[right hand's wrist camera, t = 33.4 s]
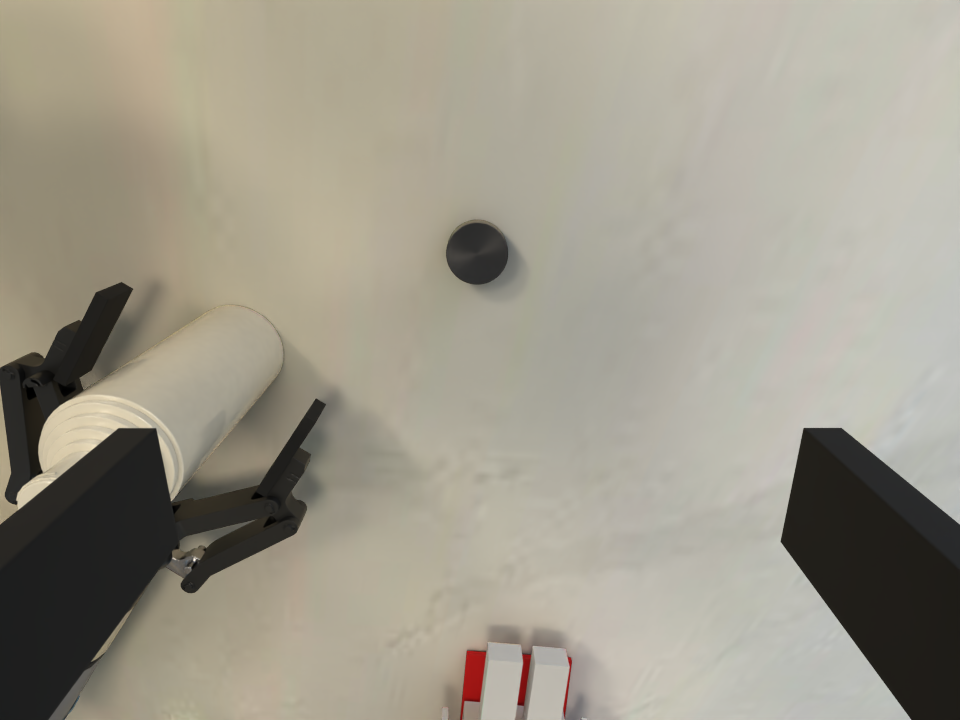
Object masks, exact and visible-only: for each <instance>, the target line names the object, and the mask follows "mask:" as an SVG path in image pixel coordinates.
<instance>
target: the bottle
mask: <svg viewBox="0 0 960 720" xmlns="http://www.w3.org/2000/svg"><path fill="white" fill-rule="evenodd" d="M283 359H284V352H283V345H282V342H281V339H280V337H279V335H278V333H277V331H276V329H275V328H274V327H273V325H272V324H271V323H270V322H269V321H268V320H267V319H266V318H265V317H263V316H262V315H260V314H259V313H257V312H255V311H253V310H251V309H249V308H246V307H242V306H236V305H225V306H219V307H216V308H213V309H211V310H209V311H207V312H206V313H204V314H203V315H201V316H199V317H198V318H196V319H195V320H193V321H192V322H190V323H189V324H187V325H185V326H184V327H182V328H181V329H179V330H178V331H176V332H174V333H173V334H171V335H170V336H168V337H167V338H165V339H163V340H162V341H160V342H159V343H157V344H156V345H154V346H152V347H151V348H149V349H148V350H146V351H145V352H143V353H142V354H140V355H138V356H137V357H135V358H134V359H132V360H131V361H129V362H127V363H126V364H124V365H123V366H121V367H120V368H118V369H116V370H115V371H113V372H112V373H110V374H109V375H107V376H105V377H104V378H102V379H101V380H99V381H98V382H96V383H95V384H93V385H91V386H90V387H88V388H87V389H85V390H84V391H82V392H80V393H79V394H77V395H76V396H74V397H73V398H71V399H69V400H68V401H66V402H65V403H63V404H62V405H60V406H59V407H58V408H57V409H55V410H54V411H53V412H52V414H51V415H50V416H49V417H48V419H47V421H46V422H45V424H44V427H43V429H42V432H41V437H40V440H39V447H38V454H39V461H40V465H41V469H42V471H43V474H40V475H37V476H36V477H35V478H33V479H32V480H30V481H29V482H28V483H27V484H25V485H24V486H23V487H22V488H21V490H20V491H19V492H18V494H17V499H16V501H18V502H17V507H18V510H19V509H20V508H21V507H23V506H24V505H25V504H26V503H27V502H29V501H30V500H31V499H32V498H34V497H35V496H36V495H37V494H38V493H40V492H41V491H42V490H43V489H45V488H46V487H47V486H48V485H49V484H51V483H52V482H53V481H54V480H56V479H57V478H58V477H59V476H60V475H62V474H63V473H64V472H65V471H67V470H68V469H69V468H70V467H72V466H73V465H74V464H75V463H76V462H78V461H79V460H80V459H81V458H83V457H84V456H85V455H86V454H87V453H89V452H90V451H91V450H92V449H94V448H95V447H96V446H97V445H98V444H100V443H101V442H102V441H103V440H105V439H106V438H107V437H108V436H109V435H111V434H112V433H113V432H114V431H116V430H117V429H118V428H156V429H157V434H158V439H159V444H160V449H161V454H162V459H163V464H164V468H165V473H166V478H167V483H168V488H169V493H170V498H171V502H172V500H173V499H174V498H175V497H176V496H177V495H178V494H179V492H180V491H181V490H182V489H183V488H184V486H185V485H186V484H187V483H188V482H189V481H190V479H191V478H192V477H193V476H194V475H195V473H196V472H197V471H198V470H199V469H200V467H201V466H202V465H203V464H204V463H205V462H206V460H207V459H208V458H209V457H210V456H211V454H212V453H213V452H214V451H215V450H216V449H217V447H218V446H219V445H220V444H221V443H222V441H223V440H224V439H225V438H226V437H227V435H228V434H229V433H230V432H231V431H232V430H233V428H234V427H235V426H236V425H237V424H238V422H239V421H240V420H241V419H242V418H243V417H244V415H245V414H246V413H247V412H248V411H249V409H250V408H251V407H252V406H253V405H254V403H255V402H256V401H257V400H258V399H259V398H260V396H261V395H262V394H263V393H264V392H265V390H266V389H267V388H268V387H269V386H270V385H271V383H272V382H273V381H274V380H275V379H276V377H277V376H278V374H279V372H280V370H281V368H282V365H283Z"/></svg>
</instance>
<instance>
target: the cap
mask: <svg viewBox="0 0 960 720" xmlns="http://www.w3.org/2000/svg"><path fill="white" fill-rule="evenodd" d="M446 257H447V262H448V265H449V267H450V269H451V271H452V272H453V273H454V274H455V275H456V276H457V277H458V278H459V279H461V280H462V281H464V282H467V283H470V284H484V283H488V282H490V281H492V280H494V279H495V278H497V277H498V276H499V275H500V274H501V272H502V271H503V269H504V268H505V266H506V263H507V259H508V248H507V244H506V240H505V238H504V236H503V234H502V232H501V231H500V230H499V229H498V228H497V227H496V226H495V225H493V224H492V223H490V222H487V221H484V220H470V221H467V222H464V223H463V224H461V225H459V226H458V227H457V228H456V229H455V230H454V231H453V233H452V234H451V236H450V239H449V241H448V245H447V250H446Z"/></svg>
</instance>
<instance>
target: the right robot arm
mask: <svg viewBox="0 0 960 720" xmlns="http://www.w3.org/2000/svg"><path fill="white" fill-rule="evenodd" d="M178 543H179V538H178V533H177V528H176V523H175V518H174V513H173V508H172V503H171V498H170V493H169V488H168V483H167V478H166V473H165V468H164V464H163V459H162V454H161V449H160V444H159V439H158V434H157V429H156V428H118V429H117V430H116V431H114V432H113V433H112V434H111V435H109V436H108V437H107V438H106V439H105V440H103V441H102V442H101V443H100V444H98V445H97V446H96V447H95V448H94V449H92V450H91V451H90V452H89V453H87V454H86V455H85V456H84V457H83V458H81V459H80V460H79V461H78V462H76V463H75V464H74V465H73V466H72V467H70V468H69V469H68V470H67V471H65V472H64V473H63V474H62V475H60V476H59V477H58V478H57V479H56V480H54V481H53V482H52V483H51V484H49V485H48V486H47V487H46V488H45V489H43V490H42V491H41V492H40V493H38V494H37V495H36V496H35V497H34V498H32V499H31V500H30V501H29V502H27V503H26V504H25V505H24V506H23V507H21V508H20V509H19V510H18V511H16V512H15V513H14V514H13V515H12V516H10V517H9V518H8V519H7V520H5V521H4V522H3V523H2V524H1V525H0V720H49V718H50V717H51V716H52V714H53V713H54V712H55V710H56V709H57V707H58V706H59V705H60V703H61V702H62V701H63V699H64V698H65V697H66V695H67V694H68V692H69V691H70V690H71V688H72V687H73V686H74V684H75V683H76V682H77V680H78V679H79V678H80V676H81V675H82V673H83V672H84V671H85V669H86V668H87V667H88V665H89V664H90V663H91V661H92V660H93V658H94V657H95V656H96V654H97V653H98V652H99V650H100V649H101V648H102V646H103V645H104V644H105V642H106V641H107V639H108V638H109V637H110V635H111V634H112V633H113V631H114V630H115V629H116V627H117V626H118V624H119V623H120V622H121V620H122V619H123V618H124V616H125V615H126V614H127V612H128V611H129V610H130V608H131V607H132V605H133V604H134V603H135V601H136V600H137V599H138V597H139V596H140V595H141V593H142V592H143V590H144V589H145V588H146V586H147V585H148V584H149V582H150V581H151V580H152V578H153V577H154V576H155V574H156V573H157V571H158V570H159V569H160V567H161V566H162V565H163V563H164V562H165V561H166V559H167V558H168V556H169V555H170V554H171V552H172V551H173V550H174V548H175V547H176V546H177V544H178ZM781 543H782V544H783V546H784V547H785V548H786V550H787V551H788V552H789V554H790V555H791V556H792V558H793V559H794V561H795V562H796V563H797V565H798V566H799V567H800V569H801V570H802V571H803V573H804V574H805V576H806V577H807V578H808V580H809V581H810V582H811V584H812V585H813V586H814V588H815V589H816V590H817V592H818V593H819V595H820V596H821V597H822V599H823V600H824V601H825V603H826V604H827V605H828V607H829V608H830V610H831V611H832V612H833V614H834V615H835V616H836V618H837V619H838V620H839V622H840V623H841V624H842V626H843V627H844V629H845V630H846V631H847V633H848V634H849V635H850V637H851V638H852V639H853V641H854V642H855V644H856V645H857V646H858V648H859V649H860V650H861V652H862V653H863V654H864V656H865V657H866V658H867V660H868V661H869V663H870V664H871V665H872V667H873V668H874V669H875V671H876V672H877V673H878V675H879V676H880V678H881V679H882V680H883V682H884V683H885V684H886V686H887V687H888V688H889V690H890V691H891V692H892V694H893V695H894V697H895V698H896V699H897V701H898V702H899V703H900V705H901V706H902V707H903V709H904V710H905V712H906V713H907V714H908V716H909V717H910V718H911V720H960V525H959V524H958V523H957V522H956V521H955V520H953V519H952V518H951V517H950V516H948V515H947V514H946V513H945V512H944V511H942V510H941V509H940V508H939V507H937V506H936V505H935V504H934V503H933V502H931V501H930V500H929V499H928V498H926V497H925V496H924V495H923V494H922V493H920V492H919V491H918V490H917V489H915V488H914V487H913V486H912V485H911V484H909V483H908V482H907V481H906V480H904V479H903V478H902V477H901V476H900V475H898V474H897V473H896V472H895V471H893V470H892V469H891V468H890V467H888V466H887V465H886V464H885V463H884V462H882V461H881V460H880V459H879V458H877V457H876V456H875V455H874V454H873V453H871V452H870V451H869V450H868V449H866V448H865V447H864V446H863V445H862V444H860V443H859V442H858V441H857V440H855V439H854V438H853V437H852V436H851V435H849V434H848V433H847V432H846V431H844V430H843V429H842V428H804V429H803V434H802V439H801V444H800V449H799V454H798V459H797V464H796V468H795V473H794V478H793V483H792V488H791V493H790V498H789V503H788V508H787V513H786V518H785V523H784V528H783V533H782V538H781Z"/></svg>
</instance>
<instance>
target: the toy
mask: <svg viewBox="0 0 960 720" xmlns="http://www.w3.org/2000/svg"><path fill="white" fill-rule="evenodd" d="M571 665H572V660H571V658H569V657H567V653H566V649H564V648H553V647H542V646H533V647H532V654H531V655H524V654H522V650H521V645H520V644H508V643H497V642H488V644H487V652H479V651H467V655H466V665H465V676H464V686H463V696H462V707H461V717H460V720H565V712H566V704H567V696H568V688H569V680H570V672H571ZM442 720H449V707H442ZM581 720H588V718H582V717H581Z"/></svg>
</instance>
